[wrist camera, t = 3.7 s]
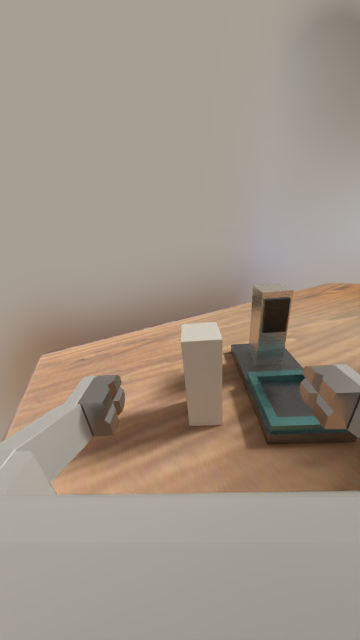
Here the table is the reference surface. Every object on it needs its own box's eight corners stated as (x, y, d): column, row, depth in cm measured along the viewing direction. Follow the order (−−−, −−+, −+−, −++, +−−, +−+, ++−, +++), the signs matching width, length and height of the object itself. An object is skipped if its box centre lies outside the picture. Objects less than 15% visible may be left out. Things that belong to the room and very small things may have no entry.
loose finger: (188, 398, 27) (181, 323, 22) (216, 396, 27) (215, 320, 22) (189, 426, 23) (181, 342, 18) (222, 424, 23) (222, 339, 18)
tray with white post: (231, 351, 37) (232, 283, 31) (278, 348, 36) (288, 278, 31) (267, 444, 20) (284, 334, 15) (355, 441, 20) (405, 327, 14)
